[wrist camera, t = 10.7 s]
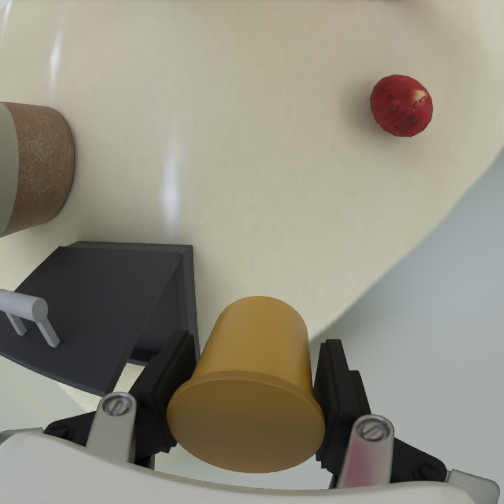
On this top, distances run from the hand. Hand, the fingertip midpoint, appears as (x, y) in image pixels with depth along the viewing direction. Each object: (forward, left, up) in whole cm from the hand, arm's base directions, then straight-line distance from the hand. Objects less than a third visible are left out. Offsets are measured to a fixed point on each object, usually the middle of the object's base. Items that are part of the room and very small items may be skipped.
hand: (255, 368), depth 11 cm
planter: (-29, -15, -20) cm, 38 cm away
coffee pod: (0, 0, -2) cm, 2 cm away
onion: (-2, +18, -20) cm, 27 cm away
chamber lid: (-10, -13, -8) cm, 18 cm away
